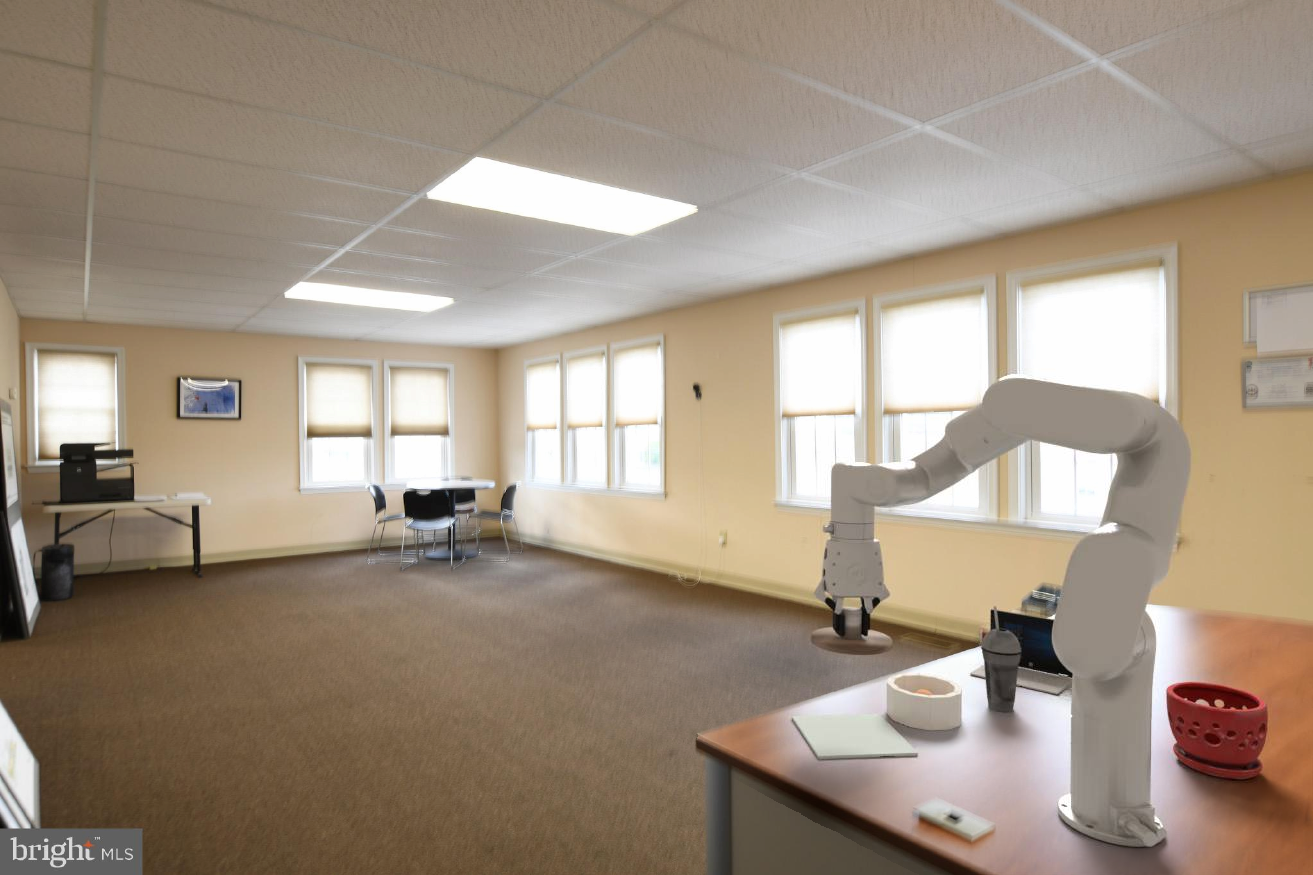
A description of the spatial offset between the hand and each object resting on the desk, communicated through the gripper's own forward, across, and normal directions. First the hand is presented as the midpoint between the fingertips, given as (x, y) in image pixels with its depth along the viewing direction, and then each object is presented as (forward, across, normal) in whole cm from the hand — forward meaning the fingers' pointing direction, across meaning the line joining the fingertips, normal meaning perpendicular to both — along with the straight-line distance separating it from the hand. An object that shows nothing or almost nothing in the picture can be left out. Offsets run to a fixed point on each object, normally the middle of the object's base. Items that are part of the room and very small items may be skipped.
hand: (851, 633), depth 132 cm
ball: (+15, +17, +8) cm, 24 cm away
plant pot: (+18, +55, -16) cm, 60 cm away
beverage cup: (+19, +34, +11) cm, 40 cm away
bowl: (+18, +17, +8) cm, 26 cm away
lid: (+2, 0, 0) cm, 2 cm away
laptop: (+19, +48, +27) cm, 59 cm away
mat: (+18, 0, 0) cm, 18 cm away
